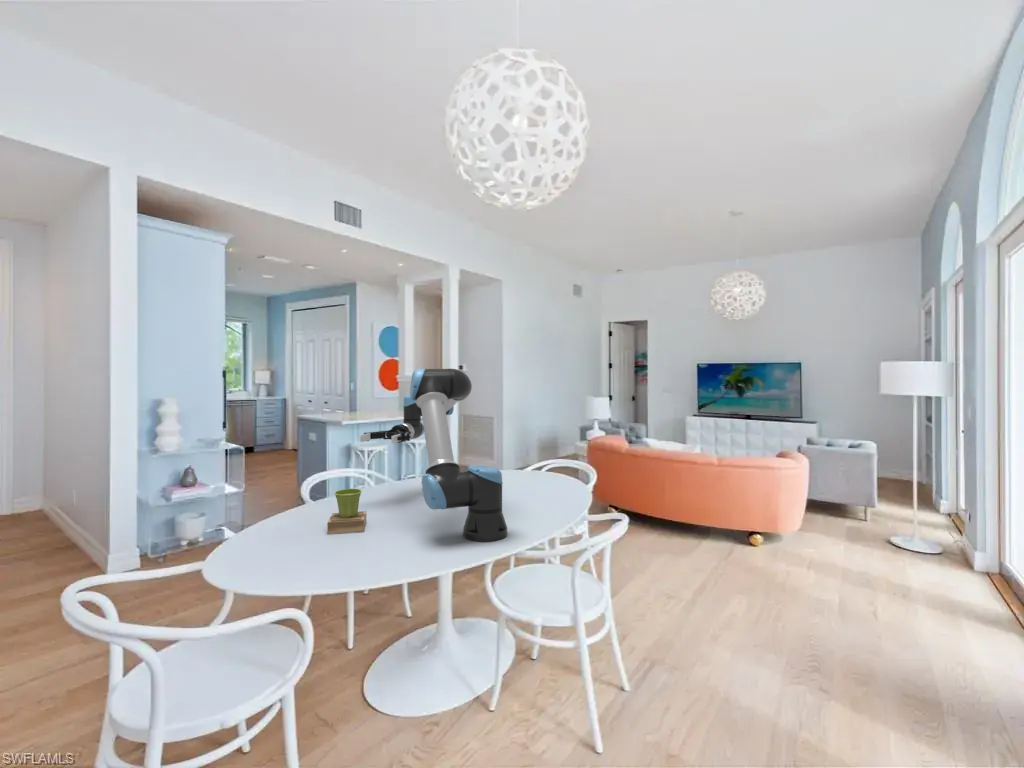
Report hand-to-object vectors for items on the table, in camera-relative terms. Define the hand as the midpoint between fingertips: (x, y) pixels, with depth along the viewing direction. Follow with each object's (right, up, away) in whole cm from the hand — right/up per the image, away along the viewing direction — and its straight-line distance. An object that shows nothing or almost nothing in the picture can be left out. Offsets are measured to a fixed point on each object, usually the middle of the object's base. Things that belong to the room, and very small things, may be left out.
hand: (376, 439), depth 194 cm
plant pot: (-6, -26, -14) cm, 30 cm away
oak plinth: (-6, -30, -14) cm, 34 cm away
